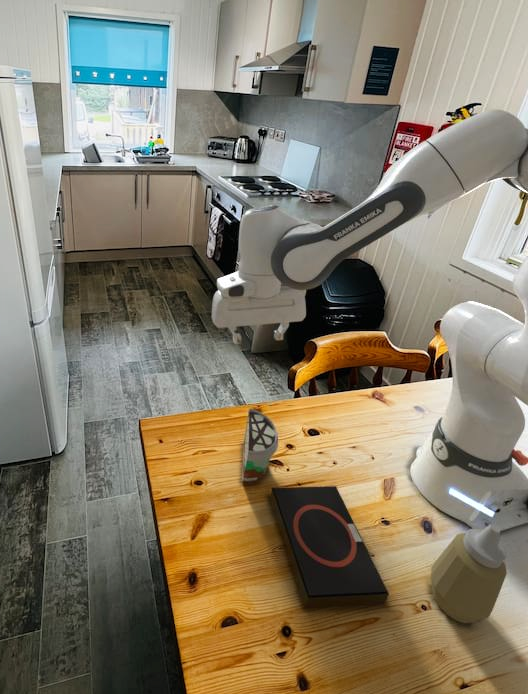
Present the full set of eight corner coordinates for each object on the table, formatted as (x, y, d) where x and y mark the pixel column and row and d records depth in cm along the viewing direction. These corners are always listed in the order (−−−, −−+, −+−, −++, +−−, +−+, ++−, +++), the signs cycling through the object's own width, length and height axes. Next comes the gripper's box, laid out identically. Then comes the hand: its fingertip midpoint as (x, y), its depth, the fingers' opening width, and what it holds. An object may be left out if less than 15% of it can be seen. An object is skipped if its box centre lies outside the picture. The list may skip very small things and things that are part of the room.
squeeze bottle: (417, 599, 63) (455, 526, 56) (431, 561, 68) (467, 490, 61) (478, 647, 58) (529, 573, 51) (488, 602, 63) (535, 529, 56)
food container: (273, 496, 78) (281, 460, 74) (241, 489, 79) (248, 453, 75) (270, 445, 89) (278, 411, 85) (243, 440, 90) (249, 406, 86)
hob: (333, 495, 78) (336, 484, 77) (384, 604, 62) (389, 592, 61) (269, 497, 77) (272, 486, 76) (304, 608, 61) (308, 596, 60)
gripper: (300, 273, 87) (297, 330, 91) (209, 280, 85) (210, 337, 89) (313, 283, 81) (309, 343, 85) (215, 290, 79) (216, 351, 83)
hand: (257, 340), depth 87 cm, fingers open, 8 cm apart
